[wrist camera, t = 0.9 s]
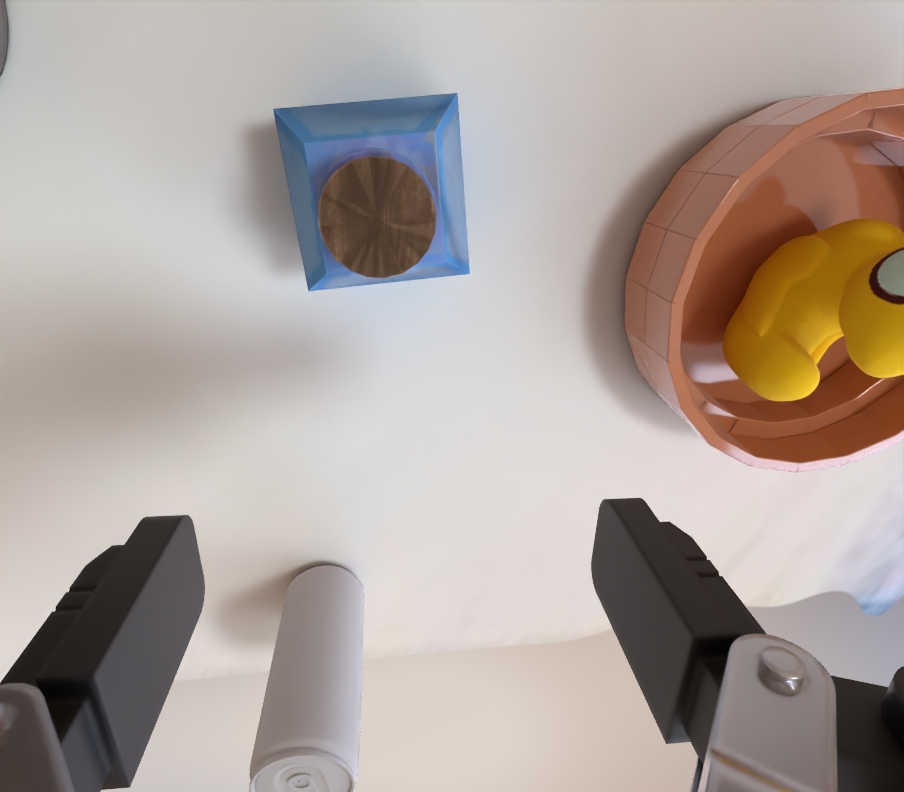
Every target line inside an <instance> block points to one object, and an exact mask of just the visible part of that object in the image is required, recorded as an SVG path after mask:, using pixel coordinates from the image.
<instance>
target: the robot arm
mask: <svg viewBox="0 0 904 792" xmlns="http://www.w3.org/2000/svg"><path fill="white" fill-rule="evenodd" d="M7 43H8V23H7V13H6V7H5V1H4V0H0V74H1V71H2V68H3V65H4V61H5V57H6V51H7ZM706 557H707V556H706V555H705V554H704V553H703V551H702V550H701V549H700V547H699V546H698V545H697V543H696V542H695V541H694V540H693V538H692V537H690V536H689V535H688V534H686V533H685V532H683V531H682V530H680V529H679V528H678V527H676V526H675V525H673V524H672V523H670V522H659V520H658V519H657V517H656V516H655V515H654V513H653V512H652V511H651V509H650V508H649V506H648V505H647V504H646V502H645V501H644V500H643V499H641V498H626V499H604V500H603V501H602V502H601V504H600V508H599V514H598V520H597V527H596V534H595V541H594V547H593V554H592V562H591V570H592V579H593V584H594V587H595V590H596V593H597V595H598V597H599V599H600V602H601V604H602V606H603V608H604V610H605V612H606V615H607V617H608V619H609V621H610V623H611V625H612V628H613V630H614V632H615V634H616V636H617V638H618V640H619V643H620V645H621V647H622V649H623V651H624V653H625V656H626V658H627V660H628V662H629V664H630V666H631V669H632V671H633V673H634V675H635V677H636V679H637V681H638V684H639V686H640V688H641V690H642V692H643V694H644V696H645V699H646V701H647V703H648V705H649V707H650V710H651V712H652V714H653V716H654V718H655V720H656V723H657V725H658V727H659V729H660V731H661V733H662V735H663V738H664V740H665V742H666V744H669V743H681V742H691V743H692V745H693V747H694V749H695V751H696V753H697V755H698V759H697V762H696V765H695V769H694V774H693V778H692V783H691V787H690V792H904V667H901V668H900V669H898V670H897V672H896V673H895V675H894V677H893V679H892V681H891V683H890V685H889V687H884V686H879V685H874V684H869V683H864V682H859V681H854V680H850V679H845V678H839V677H835V676H831V675H830V674H829V673H828V672H827V670H826V669H825V668H824V666H823V665H822V664H821V663H820V662H819V661H817V659H816V658H815V657H813V656H812V655H811V654H809V653H808V652H807V651H805V650H804V649H802V648H800V647H799V646H797V645H795V644H793V643H791V642H789V641H787V640H784V639H782V638H779V637H776V636H771V635H767V634H766V633H765V631H764V630H763V629H762V628H761V626H760V625H759V624H758V623H757V621H756V620H755V618H754V617H753V616H752V615H751V613H750V612H749V611H748V609H747V608H746V607H745V605H744V604H743V603H742V602H741V600H740V599H739V598H738V596H737V595H736V594H735V593H734V591H733V590H732V589H731V587H730V586H729V585H728V584H727V582H726V581H725V580H724V578H723V577H722V576H719V572H718V571H717V569H716V568H715V567H714V565H713V564H712V563H711V562H710V560H707V558H706ZM204 594H205V582H204V575H203V570H202V565H201V560H200V555H199V550H198V545H197V540H196V535H195V530H194V525H193V522H192V519H191V518H190V517H189V516H188V515H179V516H154V517H145V518H143V519H142V520H141V521H140V523H139V524H138V526H137V527H136V529H135V530H134V531H133V533H132V534H131V536H130V537H129V539H128V540H127V542H126V543H125V545H115V546H111V547H110V548H108V549H107V550H106V551H104V552H103V553H102V554H100V555H99V556H98V557H97V558H95V559H94V560H93V561H91V562H90V563H89V564H87V565H86V566H85V568H84V569H83V570H82V572H81V573H80V574H79V576H78V577H77V579H76V580H75V581H74V583H73V584H72V585H71V587H70V591H69V592H67V593H66V594H65V595H64V596H63V598H62V599H61V600H60V602H59V603H58V605H57V606H56V611H55V612H52V613H51V614H50V616H49V617H48V618H47V620H46V621H45V622H44V624H43V625H42V626H41V628H40V629H39V631H38V632H37V633H36V635H35V636H34V637H33V639H32V640H31V642H30V643H29V644H28V646H27V647H26V648H25V650H24V651H23V652H22V654H21V655H20V657H19V658H18V659H17V661H16V662H15V663H14V665H13V666H12V668H11V669H10V670H9V672H8V673H7V674H6V676H5V677H4V679H3V680H2V681H1V683H0V792H100V791H101V790H104V789H116V788H128V787H130V786H131V783H132V780H133V778H134V776H135V773H136V771H137V768H138V766H139V764H140V761H141V758H142V756H143V754H144V751H145V749H146V746H147V744H148V741H149V739H150V736H151V734H152V731H153V729H154V727H155V724H156V722H157V719H158V717H159V714H160V712H161V710H162V707H163V705H164V702H165V700H166V697H167V695H168V692H169V690H170V687H171V685H172V683H173V680H174V678H175V675H176V673H177V670H178V668H179V666H180V663H181V661H182V658H183V656H184V653H185V651H186V648H187V646H188V643H189V641H190V639H191V636H192V634H193V631H194V629H195V626H196V624H197V621H198V619H199V617H200V614H201V611H202V607H203V602H204Z"/></svg>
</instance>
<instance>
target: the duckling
mask: <svg viewBox="0 0 904 792" xmlns="http://www.w3.org/2000/svg"><path fill="white" fill-rule="evenodd" d="M842 336H845V339H846V348H847V351H848V354H849V356H850V358H851V359H852V360H853V362H854V363H855V364H856V365H857V366H858V367H859V368H860V369H861V370H862V371H863V372H865V373H866V374H868V375H870V376H873V377H878V378H888V377H895V376H899V375H904V233H903V232H902V230H901V229H900V228H898V227H897V226H895V225H893V224H891V223H889V222H886V221H883V220H878V219H870V218H863V219H854V220H849V221H845V222H842V223H839V224H836V225H833V226H831V227H828V228H826V229H823V230H821V231H818V232H816V233H814V234H812V235H810V236H802V237H798V238H795V239H792V240H790V241H788V242H786V243H785V244H783V245H782V246H780V247H779V248H778V249H777V250H776V251H775V252H774V253H773V254H772V255H771V256H770V257H769V258H768V259H767V260H766V261H765V262H764V263H763V264H762V265H761V266H760V267H759V268H758V270H757V271H756V273H755V274H754V276H753V278H752V280H751V282H750V284H749V286H748V289H747V291H746V294H745V297H744V298H743V300H742V301H741V303H740V304H739V306H738V308H737V309H736V311H735V313H734V314H733V316H732V318H731V320H730V321H729V323H728V325H727V328H726V331H725V334H724V338H723V354H724V357H725V359H726V361H727V363H728V365H729V366H730V368H731V369H732V371H733V372H734V373H735V374H736V375H737V377H738V378H739V379H740V380H741V381H743V382H744V383H745V384H746V385H747V386H748V387H749V388H750V389H752V390H753V391H754V392H756V393H757V394H759V395H760V396H762V397H764V398H766V399H769V400H772V401H793V400H798V399H802V398H804V397H806V396H808V395H809V394H811V393H812V392H813V391H814V390H815V389H816V388H817V386H818V384H819V380H820V373H819V370H818V368H817V366H816V365H817V364H818V362H819V360H820V359H821V357H822V356H823V354H824V353H825V351H826V350H827V348H828V347H829V346H830V345H831V344H832V343H833V342H834V341H836V340H837V339H838V338H840V337H842Z"/></svg>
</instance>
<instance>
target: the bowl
mask: <svg viewBox="0 0 904 792" xmlns="http://www.w3.org/2000/svg"><path fill="white" fill-rule="evenodd" d="M863 218H870V219H878V220H883V221H886V222H889V223H891V224H893V225H895V226H897V227H898V228H900V229H901V230H902V232H903V233H904V87H899V88H888V89H877V90H866V91H855V92H844V93H834V94H826V95H818V96H809V97H801V98H793V99H785V100H782V101H780V102H777V103H775V104H773V105H771V106H769V107H767V108H765V109H763V110H761V111H759V112H757V113H754V114H752V115H750V116H748V117H746V118H744V119H742V120H740V121H738V122H736V123H734V124H732V125H729V126H728V127H726V128H725V129H724V130H723V131H721V132H720V133H719V134H718V135H717V136H716V137H715V138H714V139H712V140H711V141H710V142H709V143H708V144H707V145H706V146H704V147H703V148H702V149H701V150H700V151H699V152H698V153H697V154H695V155H694V156H693V157H692V158H691V159H690V160H689V161H688V162H686V163H685V164H684V165H683V166H682V167H681V168H680V169H679V170H678V171H677V173H676V174H675V176H674V177H673V179H672V180H671V182H670V183H669V185H668V186H667V188H666V189H665V191H664V192H663V194H662V195H661V197H660V198H659V200H658V201H657V203H656V204H655V206H654V207H653V209H652V210H651V212H650V213H649V215H648V216H647V218H646V220H645V221H644V222H645V223H644V224H643V227H642V230H641V233H640V236H639V239H638V242H637V245H636V248H635V251H634V254H633V257H632V260H631V263H630V266H629V269H628V272H627V277H626V287H625V326H624V327H625V331H626V334H627V337H628V340H629V343H630V346H631V350H632V353H633V356H634V359H635V362H636V365H637V368H638V370H639V372H640V373H641V375H642V376H643V377H644V378H645V379H646V381H647V382H648V383H649V384H650V385H651V387H652V388H653V389H654V390H655V391H656V393H657V394H658V395H659V396H660V398H661V399H662V400H663V401H664V402H665V403H666V404H667V405H668V406H669V407H670V408H671V409H672V410H673V411H674V412H675V413H676V414H677V415H678V416H680V417H681V418H682V419H683V420H684V421H685V422H686V423H687V424H688V425H689V426H690V427H691V428H692V429H693V430H694V431H695V432H696V433H697V434H698V435H700V436H701V437H702V438H703V439H704V440H705V441H706V442H707V443H708V444H709V445H710V446H712V447H714V448H716V449H718V450H720V451H721V452H723V453H725V454H727V455H729V456H731V457H733V458H735V459H737V460H738V461H740V462H742V463H744V464H746V465H748V466H753V467H760V468H768V469H775V470H783V471H790V472H801V471H808V470H814V469H820V468H826V467H833V466H839V465H845V464H849V463H851V462H853V461H856V460H858V459H860V458H863V457H865V456H868V455H870V454H872V453H875V452H877V451H879V450H882V449H884V448H887V447H889V446H891V445H894V444H896V443H898V442H900V441H901V440H903V439H904V375H899V376H895V377H888V378H878V377H873V376H870V375H868V374H866V373H865V372H863V371H862V370H861V369H860V368H859V367H858V366H857V365H856V364H855V363H854V362H853V360H852V359H851V358H850V356H849V354H848V351H847V348H846V339H845V336H842V337H840V338H838V339H837V340H836V341H834V342H833V343H832V344H831V345H830V346H829V347H828V348H827V350H826V351H825V353H824V354H823V356H822V357H821V359H820V360H819V362H818V364H817V365H816V366H817V368H818V370H819V373H820V380H819V384H818V386H817V388H816V389H815V390H814V391H813V392H812V393H811V394H809V395H808V396H806V397H804V398H802V399H798V400H793V401H772V400H769V399H766V398H764V397H762V396H760V395H759V394H757V393H756V392H754V391H753V390H752V389H750V388H749V387H748V386H747V385H746V384H745V383H744V382H743V381H741V380H740V379H739V378H738V377H737V375H736V374H735V373H734V372H733V371H732V369H731V368H730V366H729V365H728V363H727V361H726V359H725V357H724V354H723V338H724V334H725V331H726V328H727V325H728V323H729V321H730V320H731V318H732V316H733V314H734V313H735V311H736V309H737V308H738V306H739V304H740V303H741V301H742V300H743V298H744V297H745V294H746V291H747V289H748V286H749V284H750V282H751V280H752V278H753V276H754V274H755V273H756V271H757V270H758V268H759V267H760V266H761V265H762V264H763V263H764V262H765V261H766V260H767V259H768V258H769V257H770V256H771V255H772V254H773V253H774V252H775V251H776V250H777V249H778V248H779V247H780V246H782V245H783V244H785V243H786V242H788V241H790V240H792V239H795V238H798V237H802V236H810V235H812V234H814V233H816V232H818V231H821V230H823V229H826V228H828V227H831V226H833V225H836V224H839V223H842V222H845V221H849V220H854V219H863Z"/></svg>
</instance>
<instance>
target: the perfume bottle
mask: <svg viewBox="0 0 904 792" xmlns="http://www.w3.org/2000/svg"><path fill="white" fill-rule="evenodd" d="M273 110H274V115H275V121H276V126H277V131H278V136H279V141H280V146H281V152H282V157H283V162H284V167H285V172H286V177H287V183H288V188H289V193H290V198H291V203H292V208H293V213H294V219H295V224H296V229H297V234H298V239H299V244H300V250H301V255H302V260H303V265H304V270H305V275H306V281H307V286H308V291H314V290H324V289H333V288H342V287H351V286H361V285H370V284H379V283H389V282H398V281H407V280H416V279H426V278H435V277H444V276H454V275H463V274H470V273H469V258H468V244H467V229H466V214H465V200H464V185H463V170H462V156H461V141H460V126H459V112H458V97H457V93H454V94H442V95H430V96H419V97H407V98H396V99H384V100H372V101H361V102H349V103H337V104H326V105H314V106H302V107H291V108H279V109H273Z"/></svg>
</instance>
